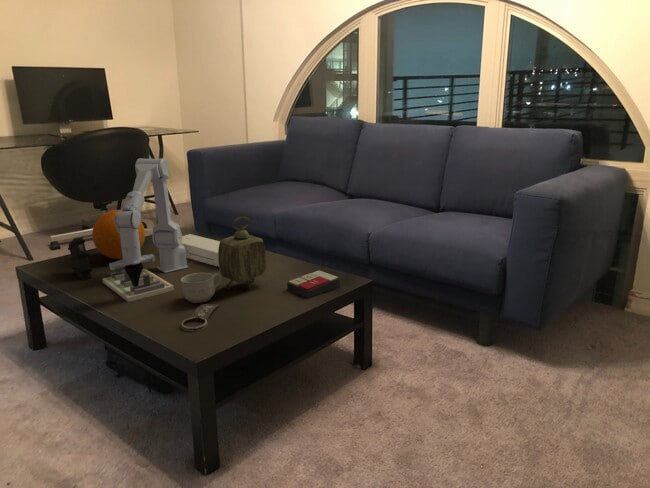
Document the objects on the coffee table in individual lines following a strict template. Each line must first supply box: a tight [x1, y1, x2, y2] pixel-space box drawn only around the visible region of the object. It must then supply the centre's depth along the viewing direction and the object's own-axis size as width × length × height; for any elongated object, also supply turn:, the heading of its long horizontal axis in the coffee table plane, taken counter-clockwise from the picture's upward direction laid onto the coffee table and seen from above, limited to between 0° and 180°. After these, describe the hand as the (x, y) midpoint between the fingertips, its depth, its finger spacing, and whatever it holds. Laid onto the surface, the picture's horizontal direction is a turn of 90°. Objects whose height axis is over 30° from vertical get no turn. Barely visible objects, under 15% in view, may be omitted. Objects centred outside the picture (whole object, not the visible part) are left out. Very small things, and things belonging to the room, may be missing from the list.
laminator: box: [181, 233, 221, 268], centre depth 224 cm, size 34×12×6 cm, turn 52°
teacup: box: [180, 272, 223, 304], centre depth 180 cm, size 14×11×8 cm
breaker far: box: [114, 268, 123, 276], centre depth 196 cm, size 2×2×5 cm
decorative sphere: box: [91, 209, 146, 260], centre depth 221 cm, size 20×20×20 cm
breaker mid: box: [124, 271, 131, 282], centre depth 190 cm, size 2×2×5 cm
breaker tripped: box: [143, 274, 150, 287], centre depth 185 cm, size 2×2×5 cm
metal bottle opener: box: [180, 303, 221, 332], centre depth 166 cm, size 8×19×2 cm, turn 171°
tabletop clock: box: [218, 216, 267, 290], centre depth 187 cm, size 14×9×25 cm, turn 134°
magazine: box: [67, 236, 92, 281], centre depth 203 cm, size 4×13×15 cm, turn 39°
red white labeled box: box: [286, 270, 341, 299], centre depth 188 cm, size 11×4×15 cm
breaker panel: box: [101, 268, 175, 303], centre depth 192 cm, size 16×24×3 cm, turn 40°
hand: (135, 285), depth 182 cm, fingers closed
